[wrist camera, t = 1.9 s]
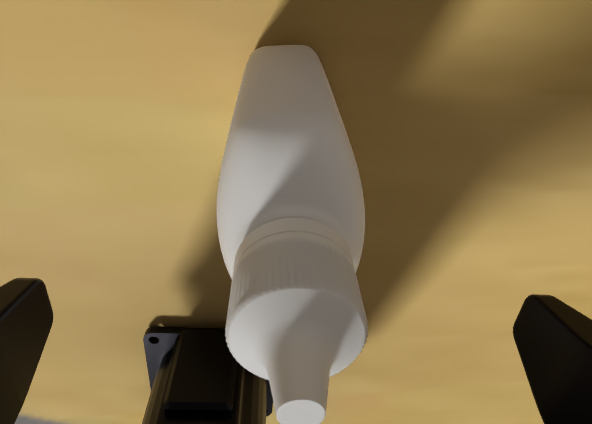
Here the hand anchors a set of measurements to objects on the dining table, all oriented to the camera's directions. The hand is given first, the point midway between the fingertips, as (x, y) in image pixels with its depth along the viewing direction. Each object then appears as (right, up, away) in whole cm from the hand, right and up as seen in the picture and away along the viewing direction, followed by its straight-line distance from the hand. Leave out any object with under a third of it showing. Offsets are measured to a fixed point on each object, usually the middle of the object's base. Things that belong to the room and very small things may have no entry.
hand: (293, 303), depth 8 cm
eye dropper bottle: (0, +5, +8) cm, 10 cm away
